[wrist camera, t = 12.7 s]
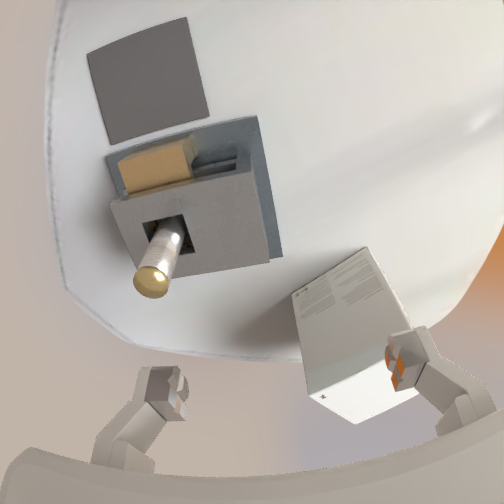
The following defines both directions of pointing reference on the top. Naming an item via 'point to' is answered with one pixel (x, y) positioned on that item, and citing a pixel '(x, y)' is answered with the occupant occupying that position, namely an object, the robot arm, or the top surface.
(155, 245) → the pin
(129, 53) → the mat
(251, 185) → the grey layered square block
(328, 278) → the supplement box
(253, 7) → the top surface
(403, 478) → the robot arm
